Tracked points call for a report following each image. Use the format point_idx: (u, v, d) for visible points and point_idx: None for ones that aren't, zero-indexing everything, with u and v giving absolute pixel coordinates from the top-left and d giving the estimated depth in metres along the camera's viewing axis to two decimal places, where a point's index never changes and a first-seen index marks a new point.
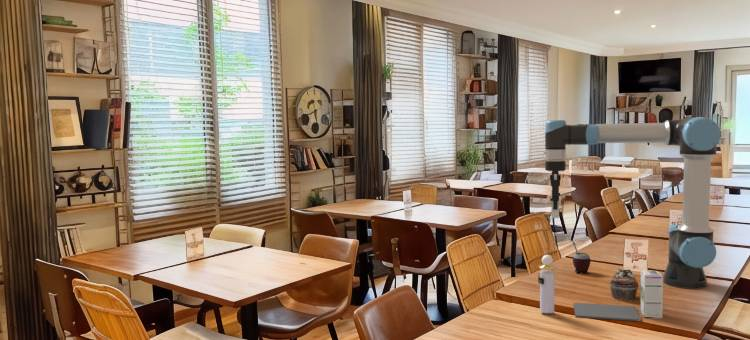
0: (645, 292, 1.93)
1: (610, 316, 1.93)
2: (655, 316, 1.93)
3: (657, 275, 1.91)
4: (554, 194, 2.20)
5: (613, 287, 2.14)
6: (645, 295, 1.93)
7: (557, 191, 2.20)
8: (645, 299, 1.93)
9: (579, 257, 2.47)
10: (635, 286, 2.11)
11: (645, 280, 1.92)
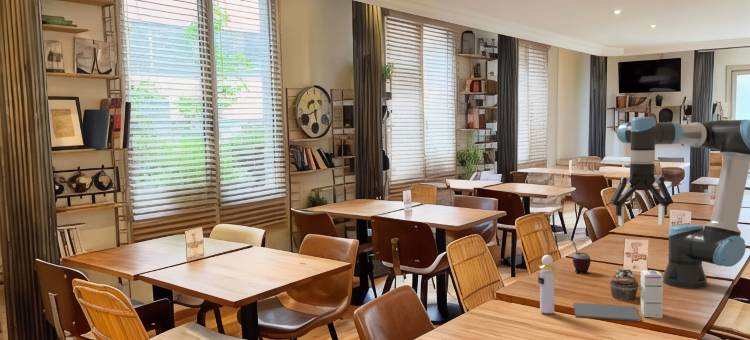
0: (645, 292, 1.93)
1: (610, 316, 1.93)
2: (655, 316, 1.93)
3: (657, 275, 1.91)
4: (613, 198, 2.01)
5: (613, 287, 2.14)
6: (645, 295, 1.93)
7: (616, 195, 2.00)
8: (645, 299, 1.93)
9: (579, 257, 2.47)
10: (635, 286, 2.11)
11: (645, 280, 1.92)
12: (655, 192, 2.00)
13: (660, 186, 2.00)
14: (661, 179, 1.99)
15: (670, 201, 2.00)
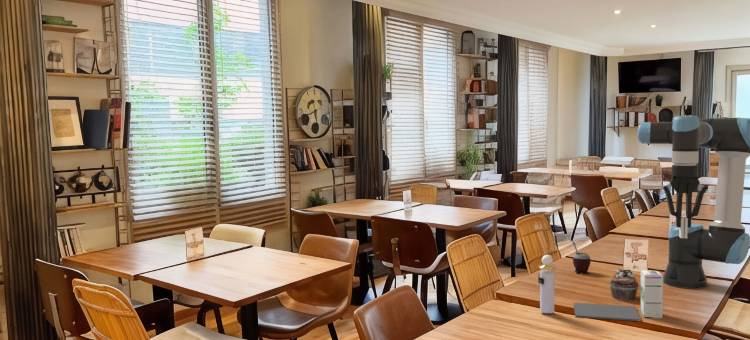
0: (645, 292, 1.93)
1: (610, 316, 1.93)
2: (655, 316, 1.93)
3: (657, 275, 1.91)
4: (669, 210, 1.91)
5: (613, 287, 2.14)
6: (645, 295, 1.93)
7: (669, 206, 1.90)
8: (645, 299, 1.93)
9: (579, 257, 2.47)
10: (635, 286, 2.11)
11: (645, 280, 1.92)
12: (689, 199, 1.88)
13: (698, 194, 1.88)
14: (704, 188, 1.87)
15: (695, 212, 1.88)
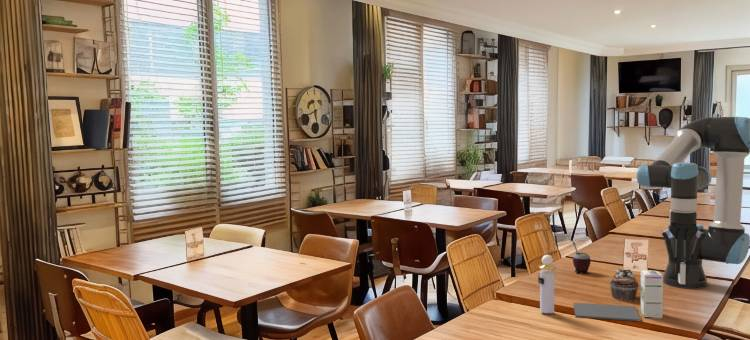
0: (645, 292, 1.93)
1: (610, 316, 1.93)
2: (655, 316, 1.93)
3: (657, 275, 1.91)
4: (668, 255, 1.93)
5: (613, 287, 2.14)
6: (645, 295, 1.93)
7: (668, 252, 1.92)
8: (645, 299, 1.93)
9: (579, 257, 2.47)
10: (635, 286, 2.11)
11: (645, 280, 1.92)
12: (687, 245, 1.90)
13: (696, 241, 1.90)
14: (702, 235, 1.88)
15: (693, 259, 1.89)
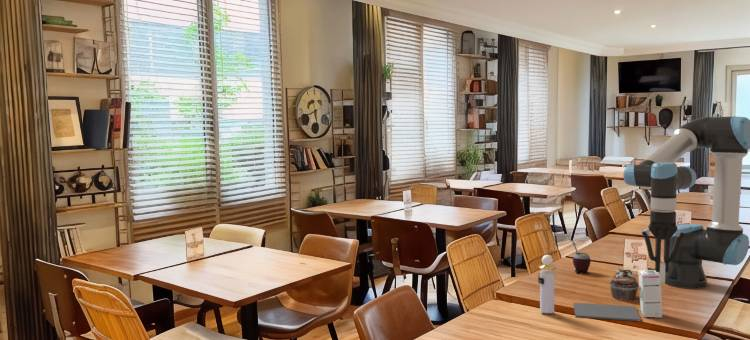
0: (643, 292, 1.93)
1: (610, 316, 1.93)
2: (655, 315, 1.93)
3: (654, 274, 1.92)
4: None
5: (613, 287, 2.14)
6: (644, 295, 1.93)
7: (648, 251, 1.93)
8: (644, 299, 1.93)
9: (579, 257, 2.47)
10: (635, 286, 2.11)
11: (643, 280, 1.92)
12: (666, 244, 1.91)
13: (675, 240, 1.91)
14: (681, 234, 1.90)
15: (673, 258, 1.91)
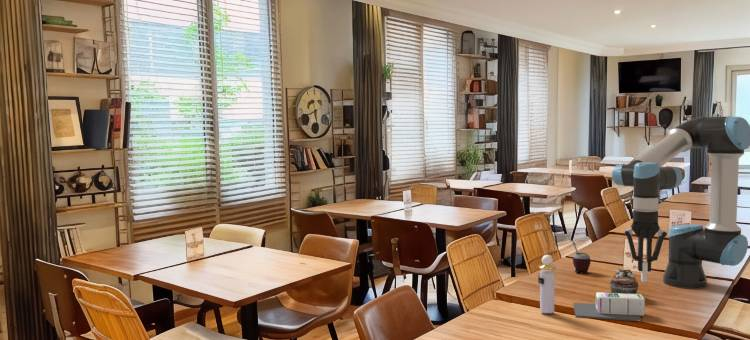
0: (616, 313, 1.95)
1: (610, 316, 1.93)
2: (642, 305, 1.93)
3: (598, 301, 1.96)
4: (631, 254, 1.96)
5: (613, 287, 2.14)
6: (620, 313, 1.95)
7: (631, 250, 1.95)
8: (624, 313, 1.95)
9: (579, 257, 2.47)
10: (635, 286, 2.11)
11: (603, 312, 1.96)
12: (649, 244, 1.93)
13: (658, 239, 1.93)
14: (663, 234, 1.91)
15: (655, 257, 1.92)
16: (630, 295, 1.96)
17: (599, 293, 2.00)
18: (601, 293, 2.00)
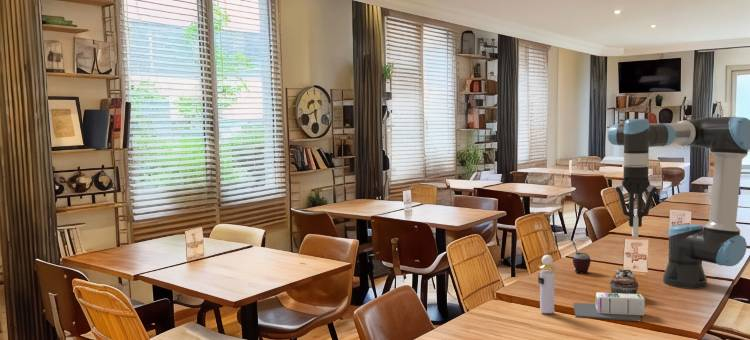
0: (616, 313, 1.95)
1: (610, 316, 1.93)
2: (642, 305, 1.93)
3: (598, 301, 1.96)
4: (622, 210, 1.98)
5: (613, 287, 2.14)
6: (620, 313, 1.95)
7: (621, 206, 1.97)
8: (624, 313, 1.95)
9: (579, 257, 2.47)
10: (635, 286, 2.11)
11: (603, 312, 1.96)
12: (639, 199, 1.95)
13: (648, 194, 1.95)
14: (654, 189, 1.93)
15: (645, 212, 1.95)
16: (630, 295, 1.96)
17: (599, 293, 2.00)
18: (601, 293, 2.00)
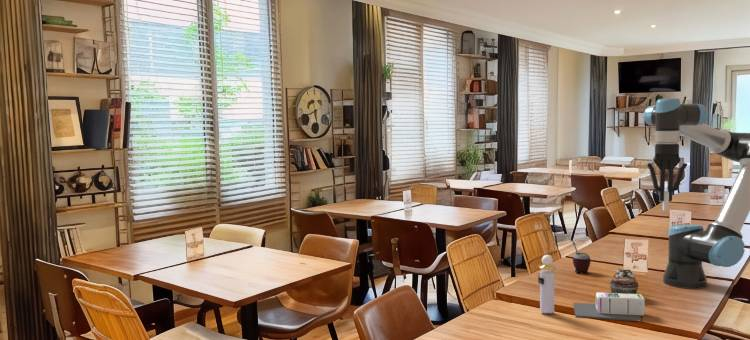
0: (616, 313, 1.95)
1: (610, 316, 1.93)
2: (642, 305, 1.93)
3: (598, 301, 1.96)
4: (653, 185, 2.09)
5: (613, 287, 2.14)
6: (620, 313, 1.95)
7: (653, 181, 2.08)
8: (624, 313, 1.95)
9: (579, 257, 2.47)
10: (635, 286, 2.11)
11: (603, 312, 1.96)
12: (670, 174, 2.06)
13: (678, 170, 2.06)
14: (684, 165, 2.04)
15: (676, 187, 2.05)
16: (630, 295, 1.96)
17: (599, 293, 2.00)
18: (601, 293, 2.00)
